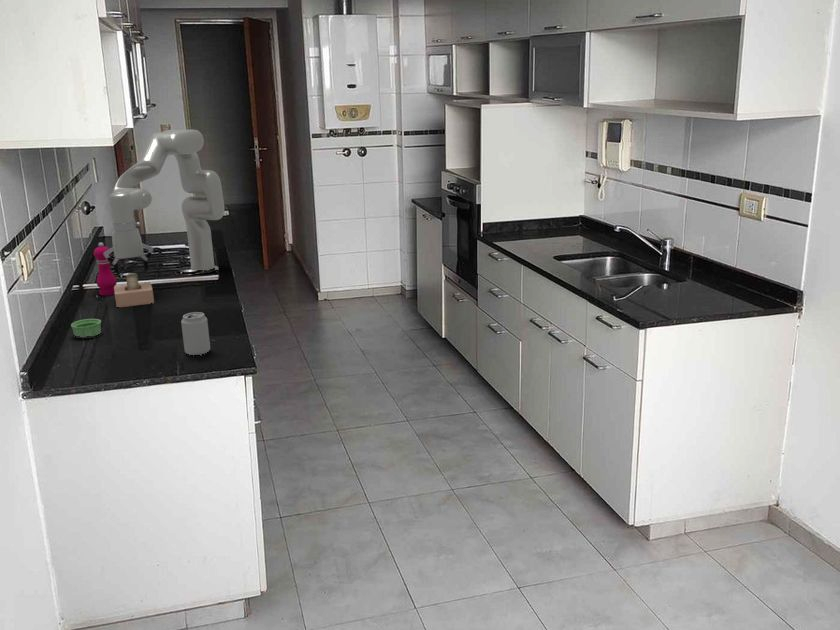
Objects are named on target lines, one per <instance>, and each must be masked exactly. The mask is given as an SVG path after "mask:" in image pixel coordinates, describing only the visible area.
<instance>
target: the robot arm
mask: <svg viewBox="0 0 840 630" xmlns="http://www.w3.org/2000/svg"><path fill="white" fill-rule="evenodd" d="M204 143H205V140H204V136H203V134H202V133H201V132H200V131H199V130H197V129H166V130H164V131H162V132H154V133H152V134H151V135H150V136H149V138H148V140H147V142H146V144H145V146H144V148H143V150H142V152H141V154H140V156H139V159H138V161H137V162H136V163H135V164H133V165H132V166H131V167H130V168H128V169H127V170H126V171H124V172H123V173H122V174H121V175H120V176H119V177H118V178H117V180H116V183H115V184H114V187H113V190H112V193H110V194H109V197H108V200H109V207H110V212H111V219H112V225H113V230H112V232H111V240H112V247H111V248H110V247H109V250H107V251H106V252H104V253H103V255H104V256H105V257H106V259H107V260H108V261H109V262H110V263H111V264H112V265H113V270H114V273H116V275H117V276H119V275H120V271H119V265H118V262H119V260H123V259H133V258H139V257H140V258H141V259H142V262H143V271H144V272H148V271H147V270H149V264H148V260H149V259H150V258H151V256H152V254H153V252H154V246H150V245H147V244H145V243H143V242H142V237H141V236H142V235H141V233H140V230H139V226H141V225H140V221H136V219H135V212H134V211H135V210H136V211H137V210H145V209H147V208H148V207H149V206H150V205H151V203H152V200H153V199H152V195H151V192H150V191H149V190H147V189H145V188H141V187H140V188H139V187H138V188H137V187H136V188H135V186H136V185H138V184H140V183H141V182H144V181H146V180H150V179H152V178H154V177H156V176H158V175H159V174H160V172H161V171H162V168H163V166H164V164H165V162H166V159H167V157H168V156H174V157H175V159H176V162H177V165H178V171H179V176H180V177H179V178H180V183H181V187H182V189H183V191H184V193H188V194H200V195H201V196H198V195H191V196H187V197H185V198H184V199H183V201H182V202H181V211H182V216H183V219H184V223H185V226H186V235H187V242H188V250H189V252H188V253H189V260H190V268H191V269H193V270H203V271H204V270H210V269H213V268H215V270H218V271H219V266H218V265H215V260H214V250H213V241H212V231H211V226H210V224H209V222H208V221H218V220H221V219H222V218H223V216H224V214H225V201H224V196H223V195H224V193H223V187H222V182H221V177H220V176H219V174H218V173H217V172H215V171H214V170H212V169H211V170H210V169H202V167H201V163H200V158H199V155H198V153H197V152H199V151H201V150H202V148H203V146H204V145H205V144H204ZM202 194H203V195H205V196H203V195H202ZM137 227H138V228H137ZM144 249H145V250H147V251H148V252H147V253H146V254H145V253H144ZM110 253H111V254H112V253H113V255H114V258H112V257H111V255H110V256H109V254H110Z"/></svg>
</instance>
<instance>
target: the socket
mask: <svg viewBox="0 0 840 630" xmlns="http://www.w3.org/2000/svg"><path fill="white" fill-rule="evenodd" d="M138 284H139V289H136V290H128V288H127V283H126V284H121V285H119V284H118V285H115V286H114V291H115V294H114V299H115V305H116V308H117V307H119V308H125V307H126V308H128V307H134V306H142V305H143V306H144V305H151V303H152V304H155V299H154V298H155V297H154V291H153V286H152V283H151V281H146V282H138Z"/></svg>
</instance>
